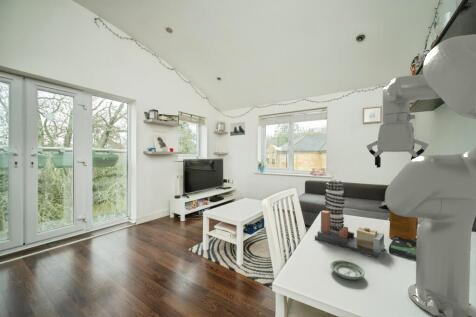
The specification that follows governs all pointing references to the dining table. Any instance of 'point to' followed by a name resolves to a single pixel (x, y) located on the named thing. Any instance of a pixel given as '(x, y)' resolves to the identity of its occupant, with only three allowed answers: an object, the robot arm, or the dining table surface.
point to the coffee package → (403, 226)
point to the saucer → (347, 269)
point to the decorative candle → (335, 203)
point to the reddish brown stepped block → (326, 226)
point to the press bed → (354, 242)
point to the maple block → (365, 237)
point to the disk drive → (403, 247)
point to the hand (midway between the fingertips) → (394, 168)
